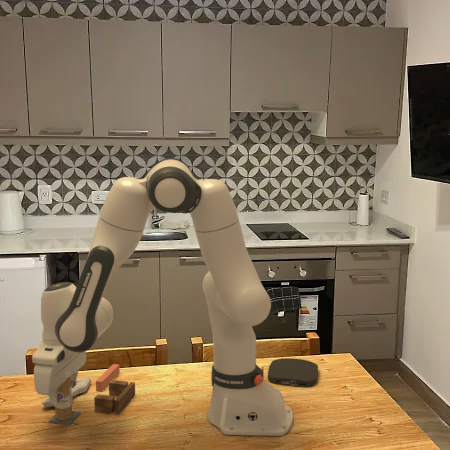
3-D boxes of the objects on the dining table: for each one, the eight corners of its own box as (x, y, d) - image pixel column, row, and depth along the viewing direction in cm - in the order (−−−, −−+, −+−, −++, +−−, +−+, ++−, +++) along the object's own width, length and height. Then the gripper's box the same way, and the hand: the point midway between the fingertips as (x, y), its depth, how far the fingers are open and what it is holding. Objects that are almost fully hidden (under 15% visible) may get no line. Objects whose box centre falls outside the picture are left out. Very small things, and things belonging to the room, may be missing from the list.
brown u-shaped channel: (135, 395, 165) (134, 382, 164) (119, 414, 154) (118, 400, 153) (112, 392, 166) (111, 379, 166) (94, 411, 156) (94, 397, 155)
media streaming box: (318, 368, 183) (319, 359, 182) (315, 390, 169) (315, 380, 168) (272, 364, 186) (273, 355, 185) (265, 384, 172) (265, 375, 171)
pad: (81, 413, 155) (80, 411, 154) (70, 425, 149) (69, 423, 149) (60, 411, 156) (60, 409, 156) (48, 422, 150) (48, 420, 150)
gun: (76, 398, 155) (38, 398, 155) (76, 410, 155) (39, 410, 156) (92, 372, 173) (59, 372, 173) (92, 383, 174) (59, 383, 174)
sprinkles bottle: (54, 421, 150) (50, 373, 147) (56, 412, 154) (54, 365, 151) (72, 420, 150) (69, 372, 148) (74, 411, 155) (71, 364, 152)
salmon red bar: (119, 373, 178) (119, 364, 178) (102, 391, 167) (102, 381, 166) (113, 372, 179) (113, 363, 178) (96, 390, 167) (95, 381, 167)
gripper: (69, 329, 159) (72, 376, 162) (27, 359, 140) (31, 412, 142) (90, 331, 158) (93, 378, 160) (51, 362, 138) (54, 415, 141)
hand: (63, 394), depth 151 cm, fingers open, 8 cm apart
